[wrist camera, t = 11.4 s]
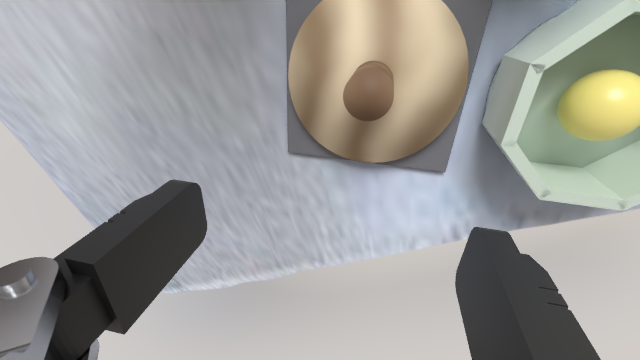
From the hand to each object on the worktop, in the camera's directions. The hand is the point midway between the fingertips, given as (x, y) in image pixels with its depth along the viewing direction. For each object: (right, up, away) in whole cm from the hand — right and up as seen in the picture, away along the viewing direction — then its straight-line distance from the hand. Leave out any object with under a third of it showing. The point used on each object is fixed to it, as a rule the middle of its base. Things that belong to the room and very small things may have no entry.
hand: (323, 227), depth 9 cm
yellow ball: (+23, +9, +18) cm, 30 cm away
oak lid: (+5, +11, +21) cm, 25 cm away
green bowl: (+23, +9, +18) cm, 31 cm away
